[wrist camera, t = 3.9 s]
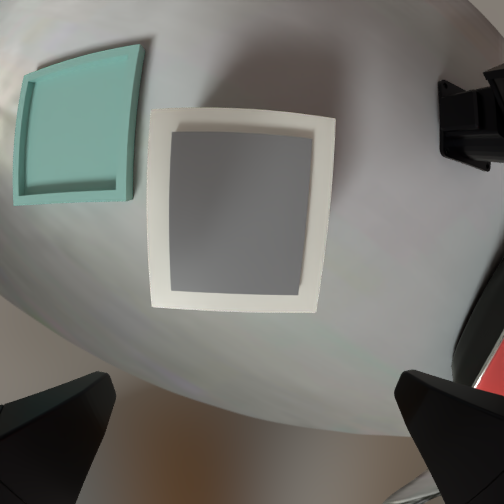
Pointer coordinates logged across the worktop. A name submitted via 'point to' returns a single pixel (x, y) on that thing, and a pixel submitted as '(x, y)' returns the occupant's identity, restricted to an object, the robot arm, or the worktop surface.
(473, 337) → the toaster
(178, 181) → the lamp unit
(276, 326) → the worktop surface
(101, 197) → the tray
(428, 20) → the worktop surface
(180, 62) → the worktop surface
